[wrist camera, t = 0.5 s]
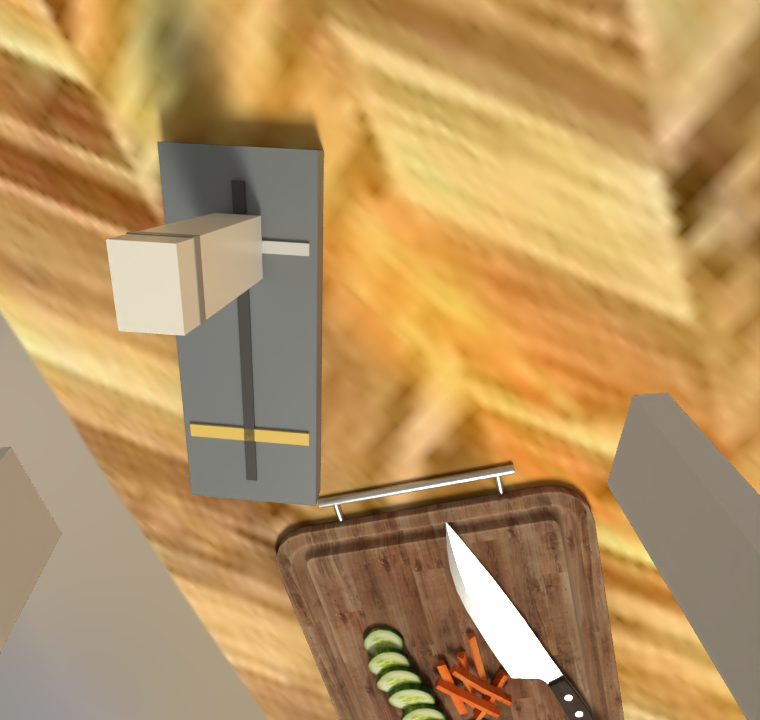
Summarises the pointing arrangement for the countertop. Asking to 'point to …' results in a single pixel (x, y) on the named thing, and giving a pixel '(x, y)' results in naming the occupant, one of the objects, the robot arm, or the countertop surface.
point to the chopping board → (457, 606)
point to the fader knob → (183, 271)
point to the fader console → (255, 325)
